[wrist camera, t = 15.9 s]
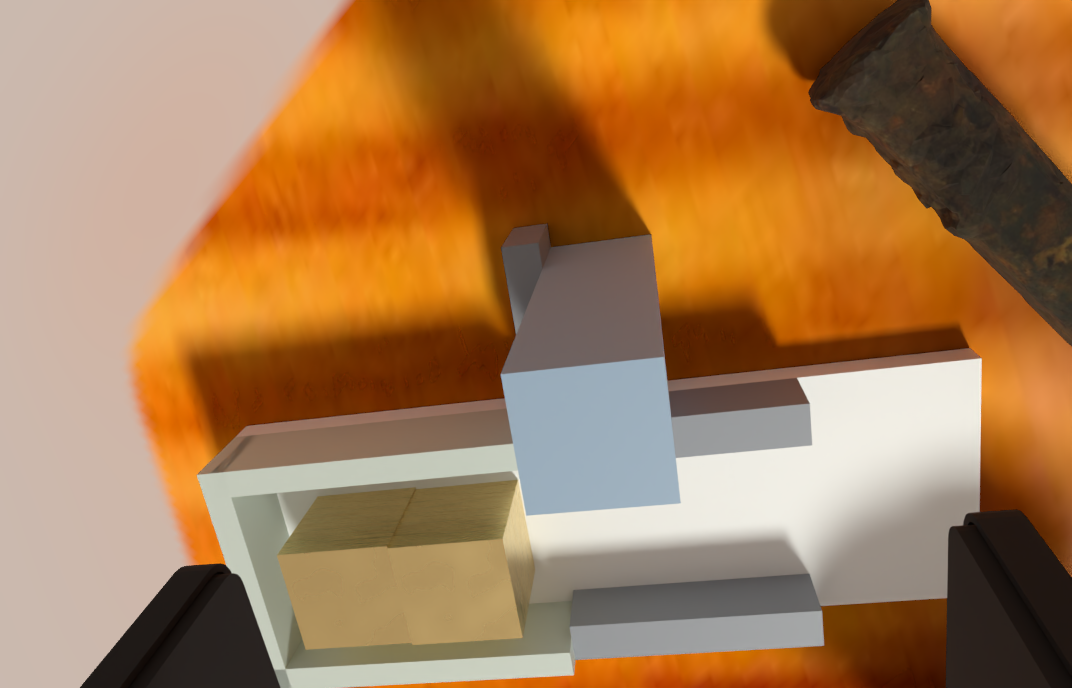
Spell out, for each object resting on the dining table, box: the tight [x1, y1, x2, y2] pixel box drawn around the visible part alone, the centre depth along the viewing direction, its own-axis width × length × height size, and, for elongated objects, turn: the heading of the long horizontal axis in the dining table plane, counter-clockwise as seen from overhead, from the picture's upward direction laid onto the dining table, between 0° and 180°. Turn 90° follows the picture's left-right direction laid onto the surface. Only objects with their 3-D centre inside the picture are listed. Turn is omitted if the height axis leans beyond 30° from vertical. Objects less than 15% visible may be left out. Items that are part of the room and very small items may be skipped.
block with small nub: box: [501, 224, 681, 516], centre depth 24 cm, size 5×5×12 cm
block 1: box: [277, 487, 416, 650], centre depth 31 cm, size 4×4×4 cm
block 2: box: [388, 480, 535, 645], centre depth 30 cm, size 4×4×4 cm
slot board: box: [197, 348, 982, 688], centre depth 30 cm, size 10×27×4 cm, turn 99°
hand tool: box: [808, 0, 1072, 346], centre depth 25 cm, size 19×4×5 cm, turn 45°
